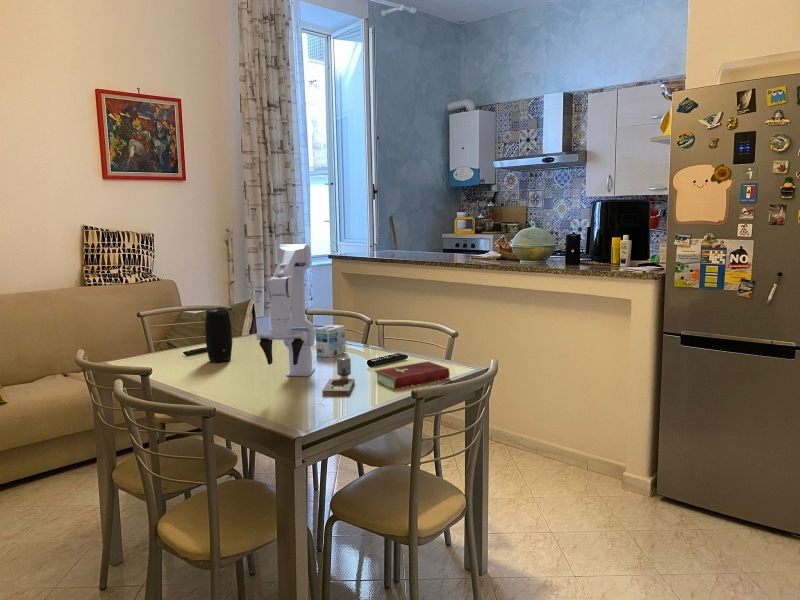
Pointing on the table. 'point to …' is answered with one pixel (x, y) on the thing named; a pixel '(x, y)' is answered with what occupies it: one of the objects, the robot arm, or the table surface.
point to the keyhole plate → (345, 391)
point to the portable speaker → (218, 334)
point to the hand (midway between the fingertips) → (282, 363)
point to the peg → (343, 367)
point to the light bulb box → (330, 340)
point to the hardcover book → (412, 374)
